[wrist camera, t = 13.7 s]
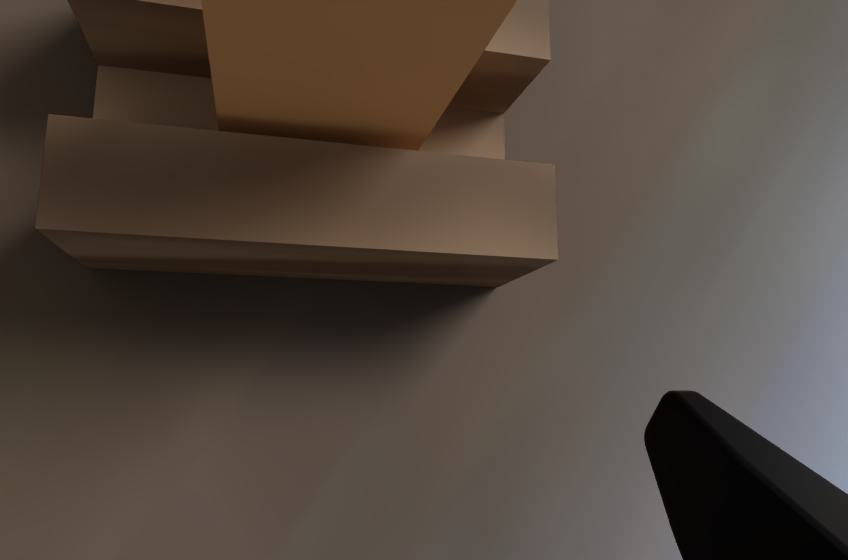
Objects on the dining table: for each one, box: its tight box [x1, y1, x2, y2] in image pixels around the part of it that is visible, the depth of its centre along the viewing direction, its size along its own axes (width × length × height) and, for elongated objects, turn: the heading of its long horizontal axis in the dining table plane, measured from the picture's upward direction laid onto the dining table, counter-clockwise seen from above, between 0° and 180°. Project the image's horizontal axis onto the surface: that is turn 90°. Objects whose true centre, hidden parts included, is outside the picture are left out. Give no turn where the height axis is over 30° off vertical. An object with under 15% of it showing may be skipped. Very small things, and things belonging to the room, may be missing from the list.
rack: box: [35, 0, 558, 287], centre depth 21 cm, size 16×14×5 cm
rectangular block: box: [201, 0, 517, 151], centre depth 16 cm, size 2×6×12 cm, turn 91°
